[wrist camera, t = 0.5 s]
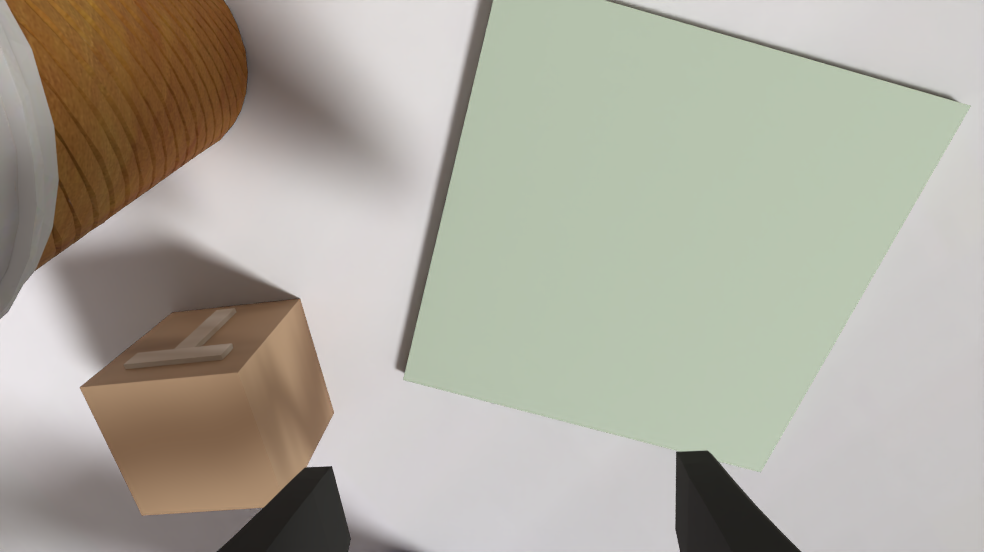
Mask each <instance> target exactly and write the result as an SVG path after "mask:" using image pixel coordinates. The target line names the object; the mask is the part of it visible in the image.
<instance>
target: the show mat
mask: <svg viewBox="0 0 984 552" xmlns="http://www.w3.org/2000/svg"><path fill="white" fill-rule="evenodd" d="M970 107H971V106H970V105H966V104H963V103H959V102H956V101H952V100H949V99H945V98H942V97H938V96H935V95H932V94H928V93H925V92H921V91H918V90H914V89H911V88H907V87H904V86H900V85H897V84H893V83H890V82H887V81H883V80H880V79H876V78H873V77H869V76H866V75H862V74H859V73H855V72H852V71H848V70H845V69H841V68H838V67H835V66H831V65H828V64H824V63H821V62H817V61H814V60H810V59H807V58H803V57H800V56H796V55H793V54H790V53H786V52H783V51H779V50H776V49H772V48H769V47H765V46H762V45H758V44H755V43H751V42H748V41H744V40H741V39H738V38H734V37H731V36H727V35H724V34H720V33H717V32H713V31H710V30H706V29H703V28H699V27H696V26H693V25H689V24H686V23H682V22H679V21H675V20H672V19H668V18H665V17H661V16H658V15H654V14H651V13H647V12H644V11H641V10H637V9H634V8H630V7H627V6H623V5H620V4H616V3H613V2H609V1H606V0H493V3H492V8H491V12H490V16H489V20H488V24H487V29H486V33H485V37H484V41H483V46H482V50H481V54H480V58H479V62H478V67H477V71H476V75H475V79H474V83H473V88H472V92H471V96H470V100H469V105H468V109H467V113H466V117H465V121H464V126H463V130H462V134H461V138H460V142H459V147H458V151H457V155H456V159H455V163H454V168H453V172H452V176H451V180H450V185H449V189H448V193H447V197H446V201H445V206H444V210H443V214H442V218H441V222H440V227H439V231H438V235H437V239H436V243H435V248H434V252H433V256H432V260H431V265H430V269H429V273H428V277H427V281H426V286H425V290H424V294H423V298H422V302H421V307H420V311H419V315H418V319H417V324H416V328H415V332H414V336H413V340H412V345H411V349H410V353H409V357H408V361H407V366H406V370H405V374H404V378H403V380H405V381H409V382H413V383H417V384H421V385H424V386H428V387H432V388H436V389H440V390H444V391H448V392H452V393H455V394H459V395H463V396H467V397H471V398H475V399H479V400H483V401H486V402H490V403H494V404H498V405H502V406H506V407H510V408H513V409H517V410H521V411H525V412H529V413H533V414H537V415H541V416H544V417H548V418H552V419H556V420H560V421H564V422H568V423H572V424H575V425H579V426H583V427H587V428H591V429H595V430H599V431H603V432H606V433H610V434H614V435H618V436H622V437H626V438H630V439H633V440H637V441H641V442H645V443H649V444H653V445H657V446H661V447H664V448H668V449H672V450H676V451H680V452H681V451H704V450H708V451H709V452H710V453H711V454H712V455H713V456H714V457H715V458H716V459H717V461H719V462H722V463H726V464H730V465H734V466H738V467H742V468H746V469H750V470H753V471H757V472H761V471H762V469H763V467H764V466H765V464H766V462H767V460H768V459H769V457H770V455H771V453H772V452H773V450H774V448H775V446H776V445H777V443H778V441H779V439H780V438H781V436H782V434H783V433H784V431H785V429H786V427H787V426H788V424H789V422H790V420H791V419H792V417H793V415H794V413H795V412H796V410H797V408H798V406H799V405H800V403H801V401H802V399H803V398H804V396H805V394H806V392H807V391H808V389H809V387H810V385H811V384H812V382H813V380H814V378H815V377H816V375H817V373H818V372H819V370H820V368H821V366H822V365H823V363H824V361H825V359H826V358H827V356H828V354H829V352H830V351H831V349H832V347H833V345H834V344H835V342H836V340H837V338H838V337H839V335H840V333H841V331H842V330H843V328H844V326H845V324H846V323H847V321H848V319H849V317H850V316H851V314H852V312H853V311H854V309H855V307H856V305H857V304H858V302H859V300H860V298H861V297H862V295H863V293H864V291H865V290H866V288H867V286H868V284H869V283H870V281H871V279H872V277H873V276H874V274H875V272H876V270H877V269H878V267H879V265H880V263H881V262H882V260H883V258H884V257H885V255H886V253H887V251H888V250H889V248H890V246H891V244H892V243H893V241H894V239H895V237H896V236H897V234H898V232H899V230H900V229H901V227H902V225H903V223H904V222H905V220H906V218H907V216H908V215H909V213H910V211H911V209H912V208H913V206H914V204H915V202H916V201H917V199H918V197H919V196H920V194H921V192H922V190H923V189H924V187H925V185H926V183H927V182H928V180H929V178H930V176H931V175H932V173H933V171H934V169H935V168H936V166H937V164H938V162H939V161H940V159H941V157H942V155H943V154H944V152H945V150H946V148H947V147H948V145H949V143H950V142H951V140H952V138H953V136H954V135H955V133H956V131H957V129H958V128H959V126H960V124H961V122H962V121H963V119H964V117H965V115H966V114H967V112H968V110H969V108H970Z"/></svg>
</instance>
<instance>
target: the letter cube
mask: <svg viewBox="0 0 984 552" xmlns="http://www.w3.org/2000/svg"><path fill="white" fill-rule="evenodd" d="M80 389H81V391H82V393H83V395H84V397H85V399H86V401H87V403H88V406H89V408H90V410H91V412H92V414H93V416H94V418H95V420H96V422H97V424H98V426H99V428H100V430H101V432H102V434H103V436H104V438H105V440H106V443H107V445H108V447H109V449H110V451H111V453H112V455H113V457H114V459H115V461H116V463H117V465H118V467H119V469H120V471H121V473H122V475H123V478H124V480H125V482H126V484H127V486H128V488H129V490H130V492H131V494H132V496H133V498H134V500H135V502H136V504H137V506H138V508H139V510H140V512H141V515H142V516H143V515H159V514H174V513H189V512H204V511H220V510H235V509H250V508H264V507H265V506H266V505H267V504H268V503H269V502H270V501H271V500H272V499H273V498H274V497H275V496H276V495H277V494H278V493H279V492H280V491H281V490H282V489H283V488H284V487H285V486H286V485H287V484H288V483H289V482H290V481H291V480H292V479H293V478H294V477H295V476H296V475H297V474H298V473H299V472H300V471H302V470H303V469H304V468H306V467H307V465H308V463H309V461H310V459H311V457H312V455H313V453H314V451H315V449H316V447H317V445H318V443H319V441H320V439H321V437H322V435H323V433H324V431H325V429H326V427H327V426H328V424H329V422H330V420H331V418H332V416H333V414H334V411H333V408H332V404H331V401H330V397H329V394H328V391H327V387H326V384H325V381H324V377H323V374H322V371H321V367H320V364H319V361H318V357H317V354H316V350H315V347H314V344H313V340H312V337H311V334H310V330H309V327H308V324H307V320H306V317H305V314H304V310H303V307H302V303H301V300H300V299H292V300H283V301H274V302H264V303H255V304H246V305H237V306H227V307H218V308H209V309H200V310H190V311H181V312H172V313H171V314H170V315H169V316H167V317H166V318H165V319H164V320H162V321H161V322H160V323H159V324H157V325H156V326H155V327H154V328H153V329H151V330H150V331H149V332H148V333H146V334H145V335H144V336H143V337H141V338H140V339H139V340H138V341H136V342H135V343H134V344H133V345H131V346H130V347H129V348H128V349H127V350H125V351H124V352H123V353H122V354H120V355H119V356H118V357H117V358H115V359H114V360H113V361H112V362H110V363H109V364H108V365H107V366H106V367H104V368H103V369H102V370H101V371H99V372H98V373H97V374H96V375H94V376H93V377H92V378H91V379H89V380H88V381H87V382H86V383H84V384H83V385H82V386H81V387H80Z"/></svg>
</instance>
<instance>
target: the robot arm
mask: <svg viewBox="0 0 984 552" xmlns="http://www.w3.org/2000/svg"><path fill="white" fill-rule="evenodd" d="M675 529H676V534H677V539H678V543H679V548H680V552H801V551H800V550H799V549H798V548H797V547H796V546H795V545H794V544H793V543H792V542H791V541H790V540H789V539H788V538H787V537H786V536H785V535H784V534H783V533H782V532H781V531H780V530H779V529H778V528H777V527H776V526H775V525H774V524H773V523H772V522H771V521H770V520H769V518H768V517H767V516H766V515H765V514H764V513H763V512H762V511H761V510H760V509H759V508H758V507H757V506H756V505H755V504H754V502H753V501H752V500H751V499H750V498H749V497H748V496H747V495H746V494H745V492H744V491H743V490H742V489H741V488H740V487H739V486H738V484H737V483H736V482H735V481H734V480H733V479H732V477H731V476H730V475H729V474H728V473H727V472H726V470H725V469H724V468H723V467H722V466H721V464H720V463H719V462H718V461H717V459H716V458H715V457H714V456H713V455H712V454H711V453H710V452H709V451H708V450H704V451H681V452H676V526H675ZM350 540H351V537H350V534H349V530H348V526H347V522H346V518H345V515H344V511H343V507H342V503H341V499H340V495H339V492H338V488H337V484H336V480H335V476H334V472H333V469H332V466H330V467H306V468H304V469H303V470H302V471H300V472H299V473H298V474H297V475H296V476H295V477H294V478H293V479H292V480H291V481H290V482H289V483H288V484H287V485H286V486H285V487H284V488H283V489H282V490H281V491H280V492H279V493H278V494H277V495H276V496H275V497H274V498H273V499H272V500H271V501H270V502H269V503H268V504H267V505H266V506H265V507H264V508H263V509H262V510H261V511H260V512H259V513H258V514H256V515H255V516H254V517H253V518H252V519H251V520H250V521H249V522H248V523H247V524H246V525H245V526H244V527H243V528H242V529H241V530H240V531H239V532H238V533H237V534H236V535H235V536H234V537H233V538H232V539H231V540H229V541H228V542H227V543H226V544H225V545H224V546H223V547H222V548H221V549H219V550H218V551H217V552H348V549H349V545H350Z"/></svg>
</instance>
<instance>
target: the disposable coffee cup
mask: <svg viewBox="0 0 984 552" xmlns="http://www.w3.org/2000/svg"><path fill="white" fill-rule="evenodd" d="M247 75H248V71H247V61H246V52H245V48H244V45H243V42H242V39H241V35H240V32H239V29H238V26H237V24H236V22H235V19H234V17H233V15H232V13H231V11H230V9H229V7H228V6H227V5H226V3H225V2H224V0H0V319H1V318H2V317H3V316H4V315H5V314H6V313H7V312H8V311H9V310H10V308H11V306H12V304H13V302H14V300H15V299H16V297H17V295H18V293H19V291H20V290H21V288H22V286H23V284H24V283H25V282H26V281H27V280H28V278H29V277H30V276H31V275H32V274H33V272H34V271H36V270H37V269H38V268H40V267H41V266H42V265H44V264H45V263H47V262H48V261H49V260H51V259H52V258H53V257H55V256H57V255H58V254H59V253H61V252H62V251H64V250H65V249H66V248H68V247H69V246H70V245H72V244H74V243H75V242H76V241H78V240H79V239H80V238H82V237H83V236H84V235H86V234H87V233H88V232H90V231H91V230H93V229H94V228H96V227H98V226H99V225H101V224H103V223H104V222H105V221H106V220H107V219H109V218H110V217H111V216H113V215H114V214H116V213H117V212H118V211H120V210H121V209H122V208H124V207H125V206H127V205H128V204H130V203H131V202H132V201H134V200H135V199H137V198H138V197H140V196H141V195H142V194H144V193H145V192H147V191H148V190H150V189H151V188H152V187H154V186H155V185H156V184H158V183H159V182H160V181H162V180H163V179H165V178H166V177H167V176H169V175H170V174H172V173H173V172H174V171H176V170H177V169H179V168H180V167H181V166H183V165H184V164H186V163H187V162H188V161H190V160H191V159H193V158H194V157H196V156H197V155H198V154H200V153H201V152H203V151H204V150H206V149H207V148H209V147H210V146H212V145H213V144H215V143H216V142H218V141H219V140H221V138H222V137H223V136H224V135H225V134H226V133H227V131H228V130H229V129H230V128H231V127H232V125H233V124H234V123H235V121H236V119H237V117H238V115H239V113H240V111H241V109H242V105H243V102H244V98H245V95H246V88H247Z"/></svg>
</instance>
